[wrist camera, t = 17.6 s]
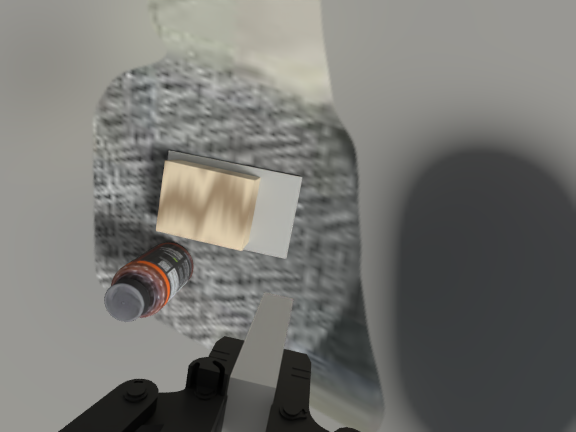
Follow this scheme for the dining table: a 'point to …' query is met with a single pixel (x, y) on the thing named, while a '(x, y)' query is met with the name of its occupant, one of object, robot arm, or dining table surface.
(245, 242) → the small box
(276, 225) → the grey mat
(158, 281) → the supplement bottle
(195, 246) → the dining table surface
